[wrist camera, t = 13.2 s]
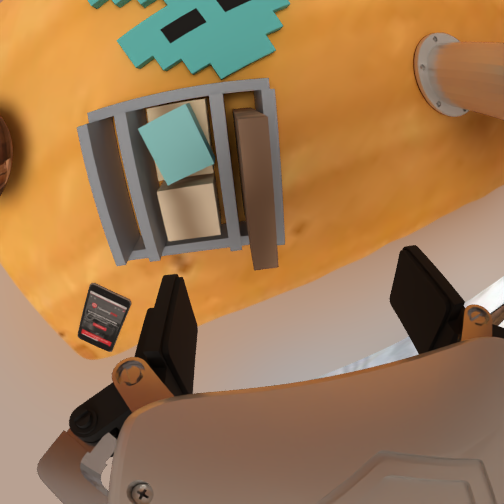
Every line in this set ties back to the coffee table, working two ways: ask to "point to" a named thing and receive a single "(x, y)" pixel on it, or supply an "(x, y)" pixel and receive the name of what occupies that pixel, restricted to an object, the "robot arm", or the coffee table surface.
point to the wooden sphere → (5, 154)
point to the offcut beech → (190, 207)
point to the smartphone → (103, 317)
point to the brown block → (257, 185)
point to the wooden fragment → (498, 316)
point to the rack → (146, 181)
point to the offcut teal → (177, 144)
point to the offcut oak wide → (202, 116)
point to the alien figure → (203, 33)
